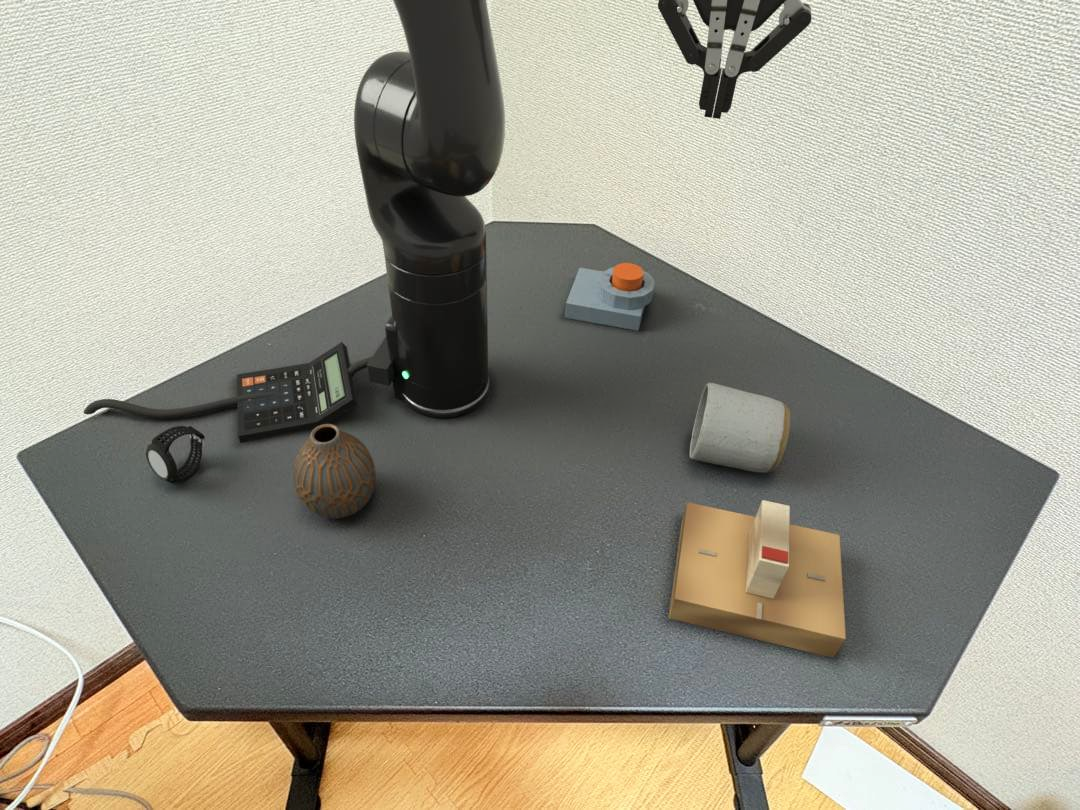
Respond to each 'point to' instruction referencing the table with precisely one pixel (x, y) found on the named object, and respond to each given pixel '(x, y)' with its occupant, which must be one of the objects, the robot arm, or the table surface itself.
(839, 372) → the table surface
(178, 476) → the smartwatch
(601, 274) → the button block
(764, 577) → the cream red striped block
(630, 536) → the table surface
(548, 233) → the table surface
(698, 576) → the knob base
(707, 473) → the table surface
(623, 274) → the button
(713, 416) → the ceramic mug
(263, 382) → the calculator
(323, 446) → the vase
